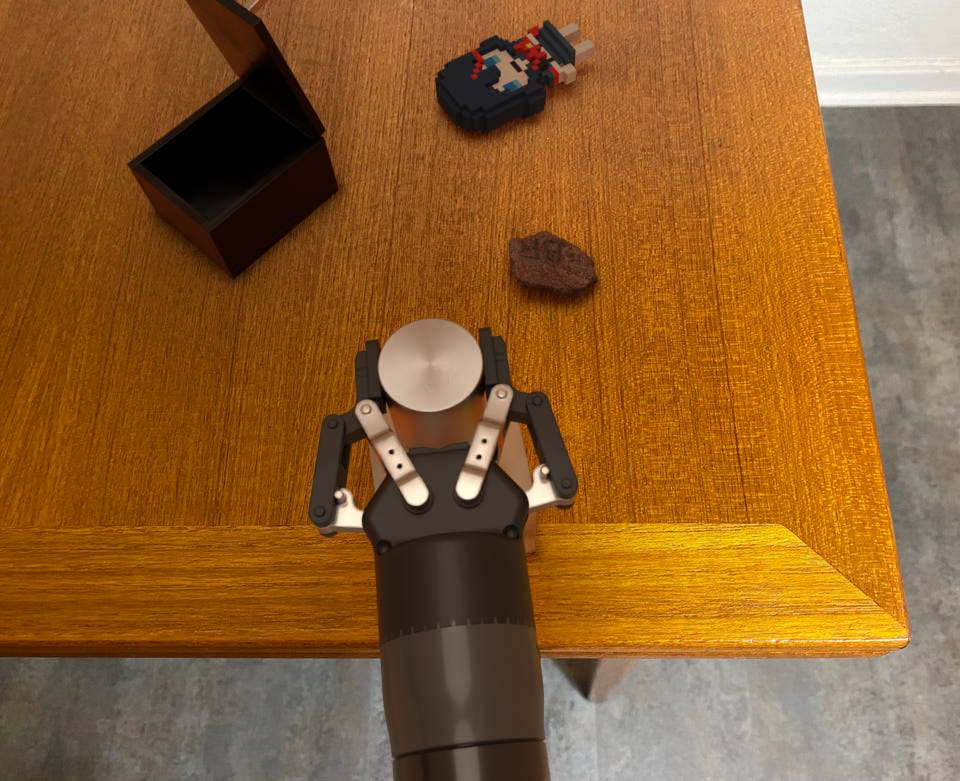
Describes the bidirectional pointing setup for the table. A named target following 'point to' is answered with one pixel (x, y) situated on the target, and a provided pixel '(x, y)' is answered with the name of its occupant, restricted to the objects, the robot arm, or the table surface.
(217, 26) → the lid
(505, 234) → the table surface
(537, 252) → the stone
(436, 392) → the canister
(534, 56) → the figurine
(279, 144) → the dark brown box
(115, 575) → the table surface
